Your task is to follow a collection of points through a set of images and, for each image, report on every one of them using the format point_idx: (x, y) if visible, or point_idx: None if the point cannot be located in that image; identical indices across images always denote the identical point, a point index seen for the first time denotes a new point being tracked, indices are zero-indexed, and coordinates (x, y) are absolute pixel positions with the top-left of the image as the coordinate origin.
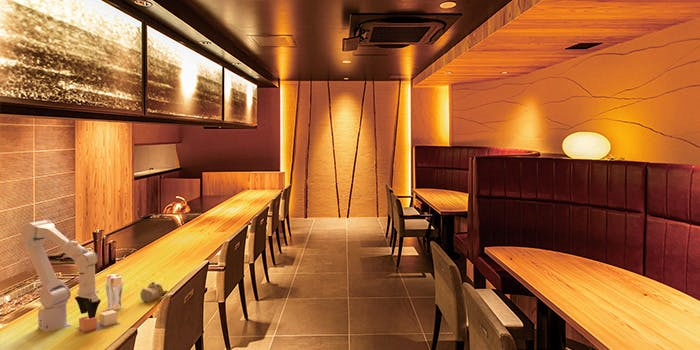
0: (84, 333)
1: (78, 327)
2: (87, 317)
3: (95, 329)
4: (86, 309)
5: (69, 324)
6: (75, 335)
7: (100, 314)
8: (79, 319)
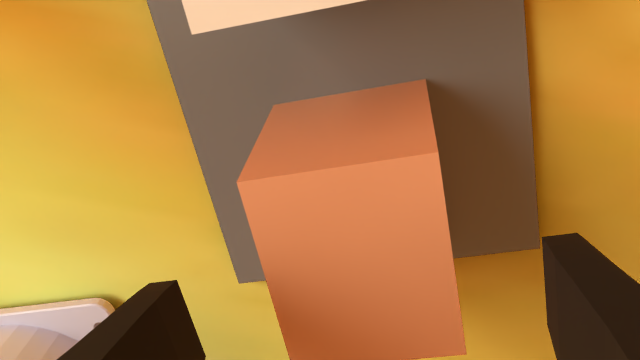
0: (514, 245)
1: (238, 255)
2: (330, 273)
3: (466, 105)
4: (154, 332)
5: (87, 313)
6: (463, 314)
7: (219, 23)
8: (309, 357)
